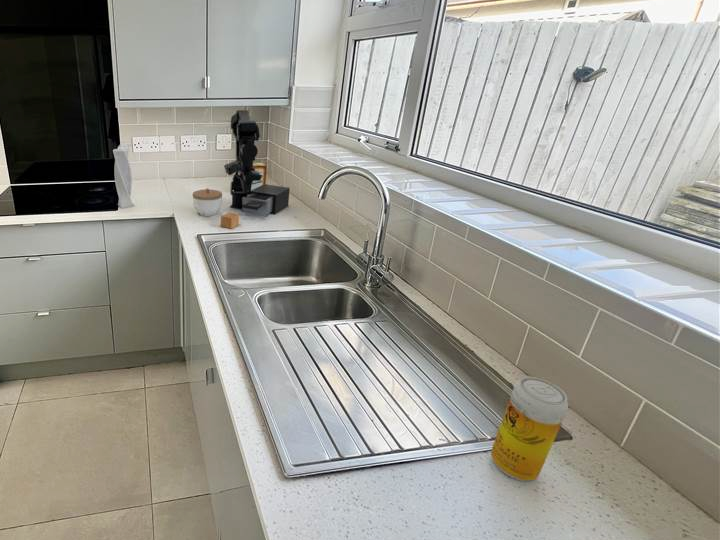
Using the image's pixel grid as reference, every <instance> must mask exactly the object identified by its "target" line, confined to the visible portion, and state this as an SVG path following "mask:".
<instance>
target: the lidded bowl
mask: <svg viewBox="0 0 720 540" xmlns="http://www.w3.org/2000/svg"><path fill="white" fill-rule="evenodd" d="M222 192H223V191H220V190H217V189H210V188H205V189H198V190H195V191H193V192H192V201H193V206H194V209H195V210H196V211H197V212H198V214H199V215H200V216H203V217H211V216H215V215H216V214H217V213H218V211H219V210H220V209H221V207H222V201H223V193H222Z"/></svg>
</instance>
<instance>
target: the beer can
mask: <svg viewBox="0 0 720 540" xmlns="http://www.w3.org/2000/svg"><path fill="white" fill-rule="evenodd" d="M510 394H511V395H510V397H509V399H508V402H507V405H506V408H505V411H504V414H503V417H502V419H501V422H500V425H499V428H498V430H497V432H496V436H495V439H494V441H493V443H492V444H493V445H492V447H491V450H490V456H491V458H492V460H493V462H494V464H495V465H496V467H497V468H498V469H499V471H501V472H502V473H503V474H504V475H506V476H508V477H509V478H512V479H514V480H518V481H522V482H527V481H528V482H529V481H534V480H536V479H538V478H539V476H540V473H541V472H542V469H543V466H544V465H545V462H546V461H547V458H548V455H549V453H550V451H551V448H552V446H553V444H554V441H555V440H556V438H557V435H558V432H559V430H560V428H561V425H562V423H563V421H564V419H565V416H566V414H567V412H568V410H569V403H568V395H567V394H566V393H565V391H564V390H563V389H562V388H560V387H559V386H558V385H556V384H555V383H553V382H551V381H550V380H549V381H548V380H546V379H544V378H541V377H540V378H539V377H535V376H524V377H522V378H520V379H519V380H518V381H517V382H516V383H515V384H514V386H513V389H512V392H511V393H510Z"/></svg>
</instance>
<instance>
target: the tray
mask: <svg viewBox="0 0 720 540" xmlns="http://www.w3.org/2000/svg"><path fill="white" fill-rule="evenodd" d="M272 211H274V197H273V196H267V195H261V194H255V193H253V194H251V195H249V196H247V197H243V199H242V209H241V213H243V214H247V215H248V214H249V215H253V216H258V217H263V218H267V217H268V215H269V214H270V212H272Z"/></svg>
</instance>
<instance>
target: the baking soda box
mask: <svg viewBox="0 0 720 540" xmlns="http://www.w3.org/2000/svg"><path fill="white" fill-rule="evenodd" d="M253 168H255V171H256V172H258V173H259V174H260V175H261V180H260V181H253V182H252V184H251V185H252V186H251V190H253V189H255V188H257V187H259V186H262V185H264V184H266V182H267V181H266V179H267V165H266V164H265V163H264V162H253ZM247 196H249V195H247Z"/></svg>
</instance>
